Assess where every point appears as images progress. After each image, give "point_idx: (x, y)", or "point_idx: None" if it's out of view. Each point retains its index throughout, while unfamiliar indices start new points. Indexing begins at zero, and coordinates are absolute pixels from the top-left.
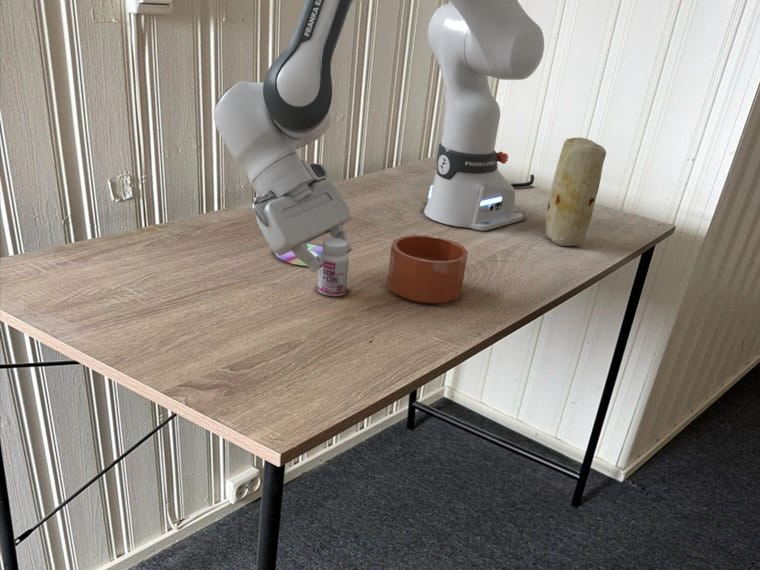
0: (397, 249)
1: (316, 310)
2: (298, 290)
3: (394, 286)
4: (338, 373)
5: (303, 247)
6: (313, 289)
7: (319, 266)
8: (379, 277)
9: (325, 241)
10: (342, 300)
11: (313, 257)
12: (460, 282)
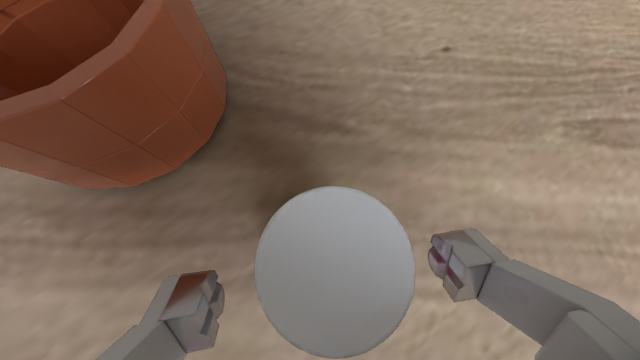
0: (108, 52)
1: (440, 203)
2: None
3: (209, 120)
4: (570, 27)
5: (626, 318)
6: None
7: (464, 229)
8: (123, 229)
9: (386, 318)
10: None
11: (509, 260)
12: None
